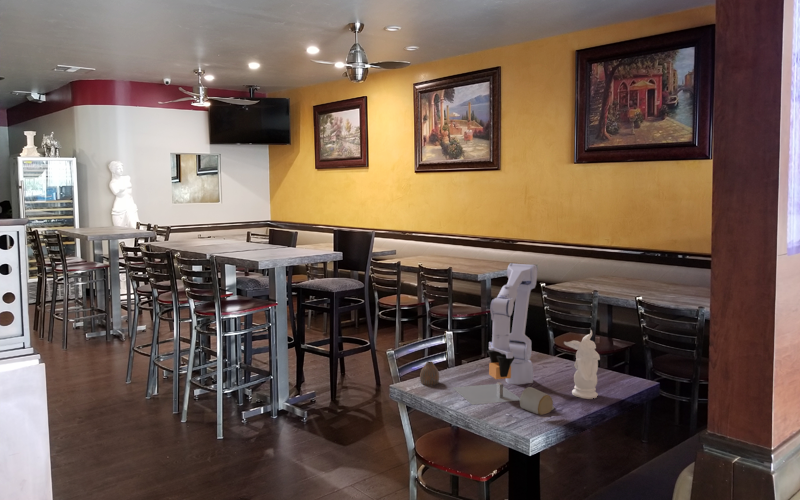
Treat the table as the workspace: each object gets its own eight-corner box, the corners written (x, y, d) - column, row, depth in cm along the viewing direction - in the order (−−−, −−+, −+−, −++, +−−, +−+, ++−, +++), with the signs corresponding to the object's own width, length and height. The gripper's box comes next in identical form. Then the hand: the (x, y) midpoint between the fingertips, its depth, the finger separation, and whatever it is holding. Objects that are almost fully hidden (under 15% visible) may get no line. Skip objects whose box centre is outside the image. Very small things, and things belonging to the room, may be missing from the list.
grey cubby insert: (499, 395, 209) (500, 382, 208) (502, 397, 207) (503, 384, 206) (496, 395, 208) (496, 382, 208) (499, 397, 206) (499, 384, 206)
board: (499, 386, 222) (499, 383, 222) (522, 403, 205) (522, 400, 204) (452, 390, 217) (452, 387, 217) (472, 408, 199) (472, 404, 199)
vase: (437, 390, 218) (438, 365, 217) (418, 388, 219) (418, 364, 218) (440, 384, 224) (440, 360, 224) (421, 382, 226) (421, 359, 225)
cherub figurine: (592, 402, 207) (595, 338, 204) (556, 395, 214) (558, 333, 211) (602, 392, 217) (604, 330, 215) (567, 385, 224) (569, 326, 221)
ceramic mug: (539, 420, 190) (540, 395, 189) (518, 412, 196) (519, 388, 196) (560, 413, 197) (561, 389, 196) (539, 406, 203) (541, 383, 202)
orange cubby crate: (489, 374, 209) (489, 362, 208) (503, 373, 210) (504, 361, 210) (495, 379, 204) (496, 366, 203) (510, 378, 205) (511, 365, 205)
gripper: (481, 329, 211) (480, 368, 213) (499, 339, 197) (498, 381, 199) (500, 328, 213) (499, 367, 215) (519, 338, 199) (518, 379, 201)
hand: (499, 373), depth 207 cm, fingers closed on orange cubby crate, 5 cm apart
